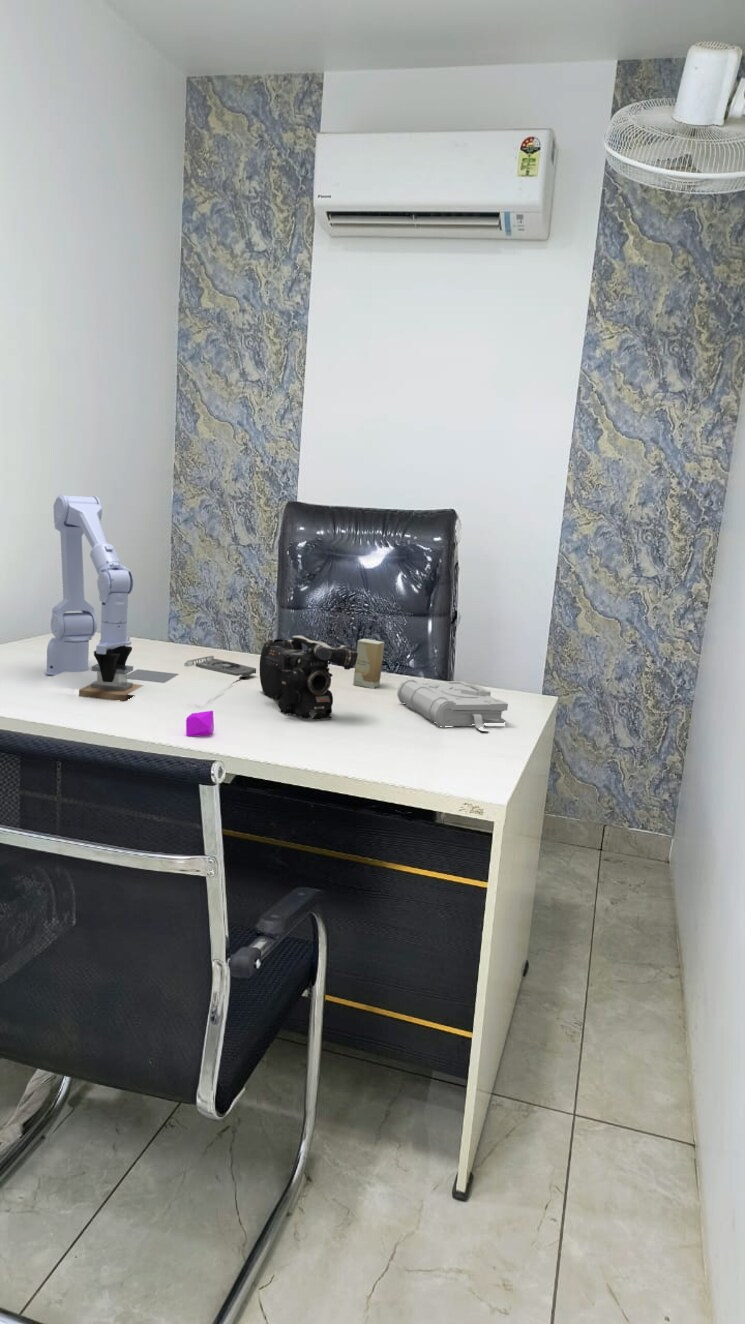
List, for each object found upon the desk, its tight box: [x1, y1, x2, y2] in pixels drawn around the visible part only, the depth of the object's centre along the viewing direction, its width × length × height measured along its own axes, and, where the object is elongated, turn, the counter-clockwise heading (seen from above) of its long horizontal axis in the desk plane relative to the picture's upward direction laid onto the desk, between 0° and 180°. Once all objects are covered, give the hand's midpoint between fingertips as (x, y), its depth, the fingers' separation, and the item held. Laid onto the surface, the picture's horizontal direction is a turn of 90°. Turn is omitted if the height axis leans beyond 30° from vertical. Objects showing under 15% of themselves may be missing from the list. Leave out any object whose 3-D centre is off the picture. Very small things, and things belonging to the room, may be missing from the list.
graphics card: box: [184, 655, 257, 678], centre depth 245 cm, size 17×4×12 cm
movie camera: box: [259, 635, 358, 721], centre depth 217 cm, size 31×18×18 cm, turn 31°
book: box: [397, 678, 509, 729], centre depth 221 cm, size 19×28×8 cm
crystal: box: [185, 710, 215, 737], centre depth 189 cm, size 5×5×5 cm
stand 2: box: [127, 668, 179, 684], centre depth 230 cm, size 11×11×2 cm
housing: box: [90, 663, 134, 692], centre depth 215 cm, size 8×5×5 cm, turn 83°
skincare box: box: [352, 638, 385, 689], centre depth 245 cm, size 6×4×12 cm
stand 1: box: [78, 683, 144, 702], centre depth 215 cm, size 11×11×2 cm
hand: (112, 679), depth 215 cm, fingers closed on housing, 5 cm apart
